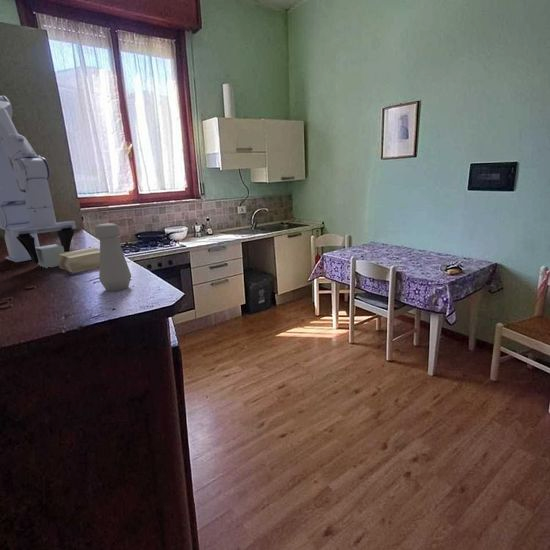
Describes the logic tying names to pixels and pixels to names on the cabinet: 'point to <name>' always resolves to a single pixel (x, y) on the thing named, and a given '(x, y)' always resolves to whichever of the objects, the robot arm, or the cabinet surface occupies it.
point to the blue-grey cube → (49, 255)
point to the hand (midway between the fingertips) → (51, 259)
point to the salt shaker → (112, 259)
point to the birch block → (79, 259)
